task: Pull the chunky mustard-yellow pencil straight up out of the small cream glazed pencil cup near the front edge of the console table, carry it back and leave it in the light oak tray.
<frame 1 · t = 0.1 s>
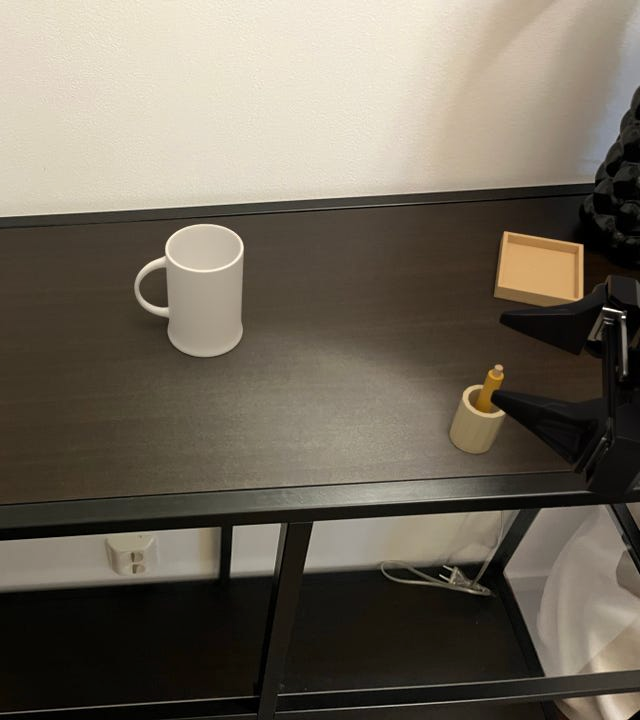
hand: (496, 354, 59), 16 cm above the table, tool horizontal, fingers open, 9 cm apart
pencil: (471, 434, 72), resting on pencil cup
pencil cup: (470, 437, 73), on the table
mug: (190, 332, 85), on the table
tray: (537, 275, 89), on the table
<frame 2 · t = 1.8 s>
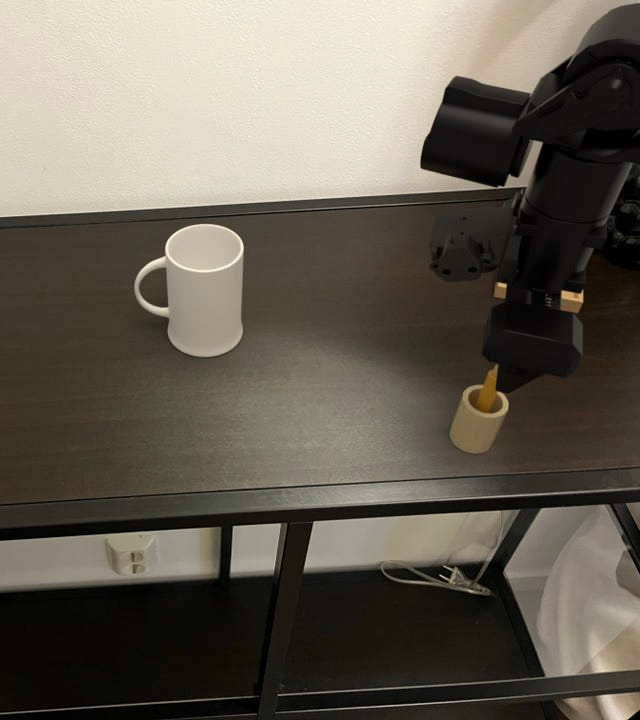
hand: (505, 353, 64), 12 cm above the table, tool pointing down, fingers open, 9 cm apart
nothing on the table moved.
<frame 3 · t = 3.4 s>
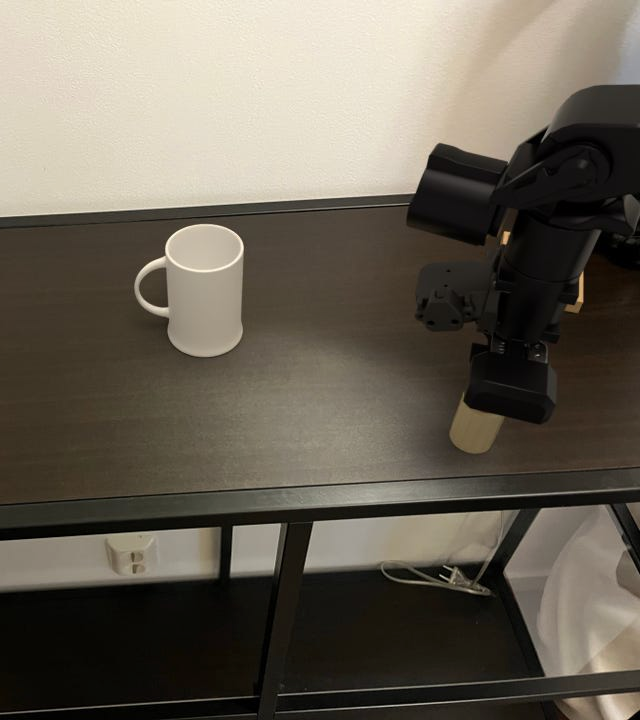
hand: (488, 393, 68), 7 cm above the table, tool pointing down, fingers closed on pencil, 1 cm apart
pencil: (471, 434, 72), point 1 cm above the table, touching gripper, pencil cup
everything else where it was.
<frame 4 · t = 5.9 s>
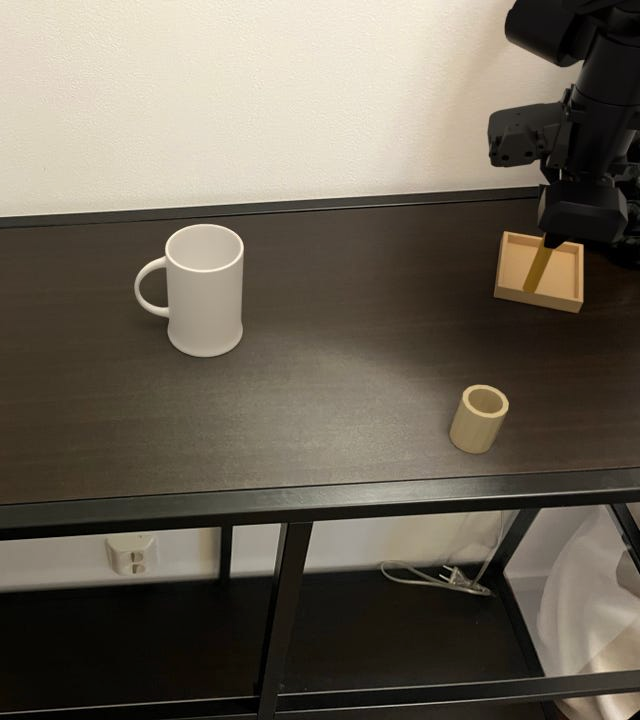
hand: (549, 242, 72), 13 cm above the table, tool pointing down, fingers closed on pencil
pencil: (529, 289, 77), point 7 cm above the table, touching gripper
everything else where it was.
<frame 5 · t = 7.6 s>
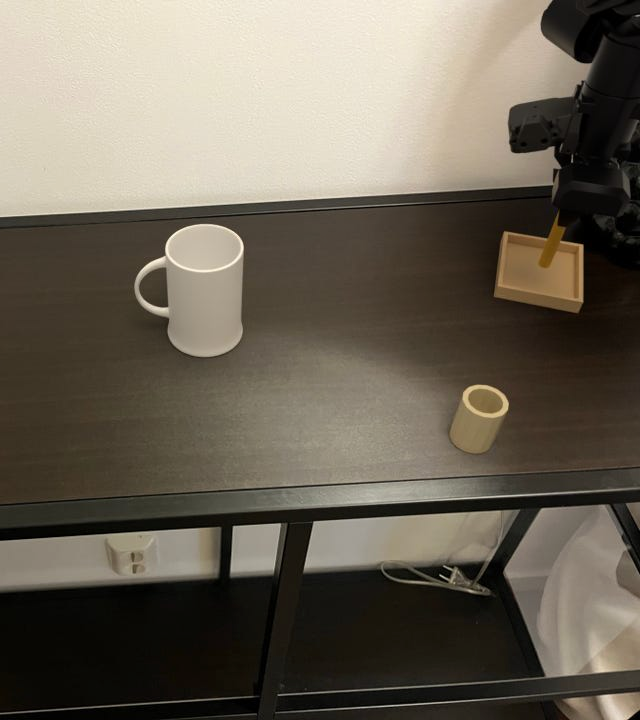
hand: (562, 221, 81), 9 cm above the table, tool pointing down, fingers closed on pencil, 1 cm apart
pencil: (543, 264, 86), point 3 cm above the table, touching gripper
everything else where it was.
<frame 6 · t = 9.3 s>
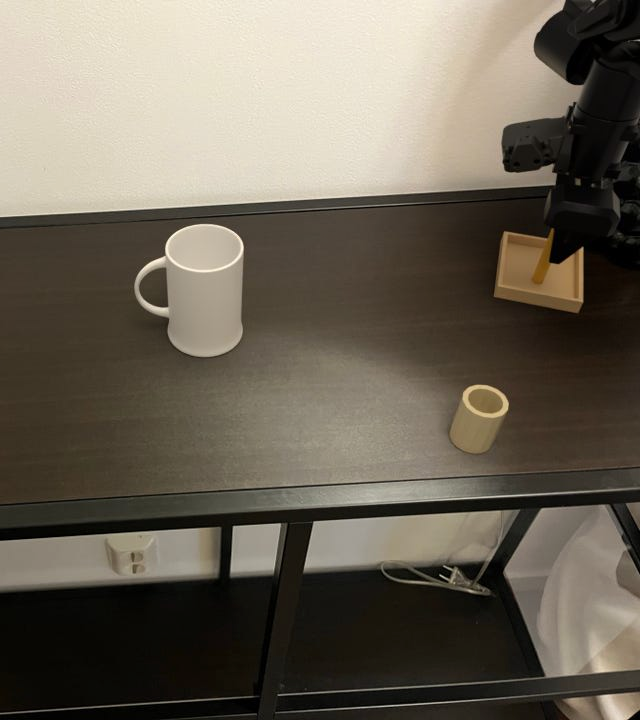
hand: (555, 238, 83), 7 cm above the table, tool pointing down, fingers open, 9 cm apart
pencil: (537, 280, 87), resting on tray
everything else where it was.
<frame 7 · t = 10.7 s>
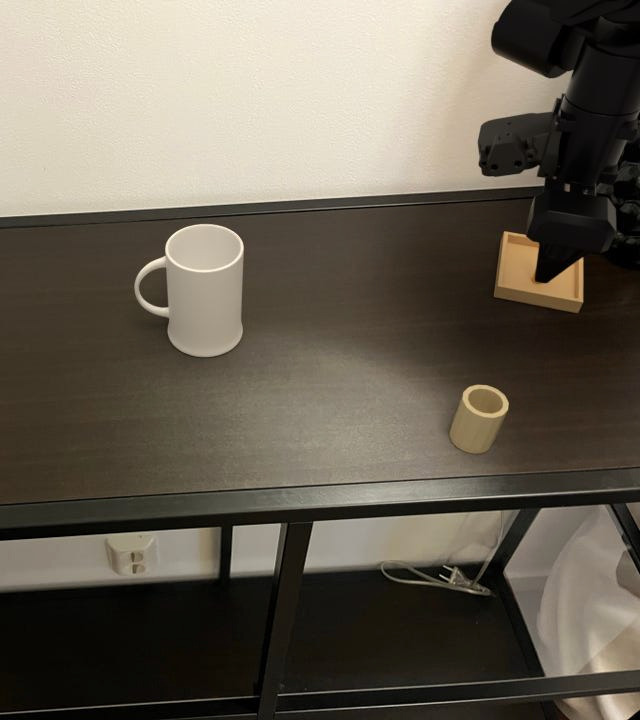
hand: (542, 252, 72), 13 cm above the table, tool pointing down, fingers open, 9 cm apart
nothing on the table moved.
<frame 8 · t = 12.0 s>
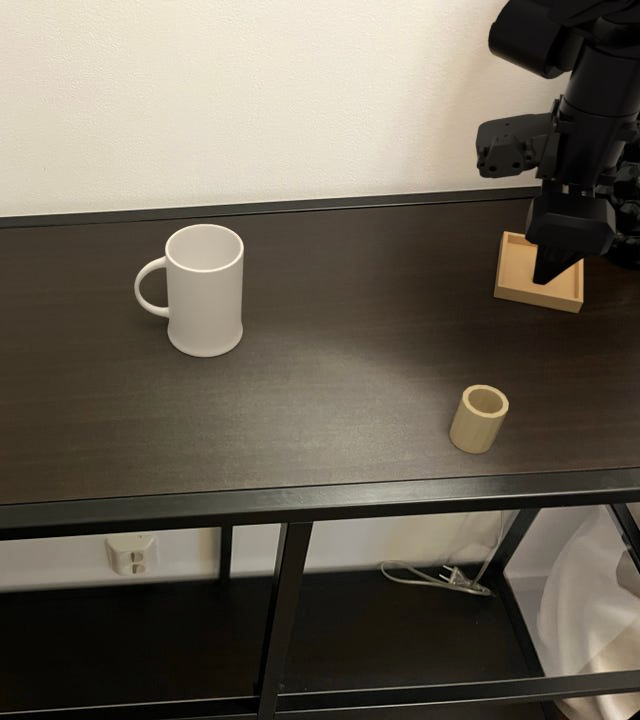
hand: (540, 253, 71), 13 cm above the table, tool pointing down, fingers open, 9 cm apart
nothing on the table moved.
at the end: pencil inside the target area in the tray (1.6 cm from its centre), point 0.5 cm above the tray's base; pencil moved 26.4 cm from its start; the gripper is holding nothing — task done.
